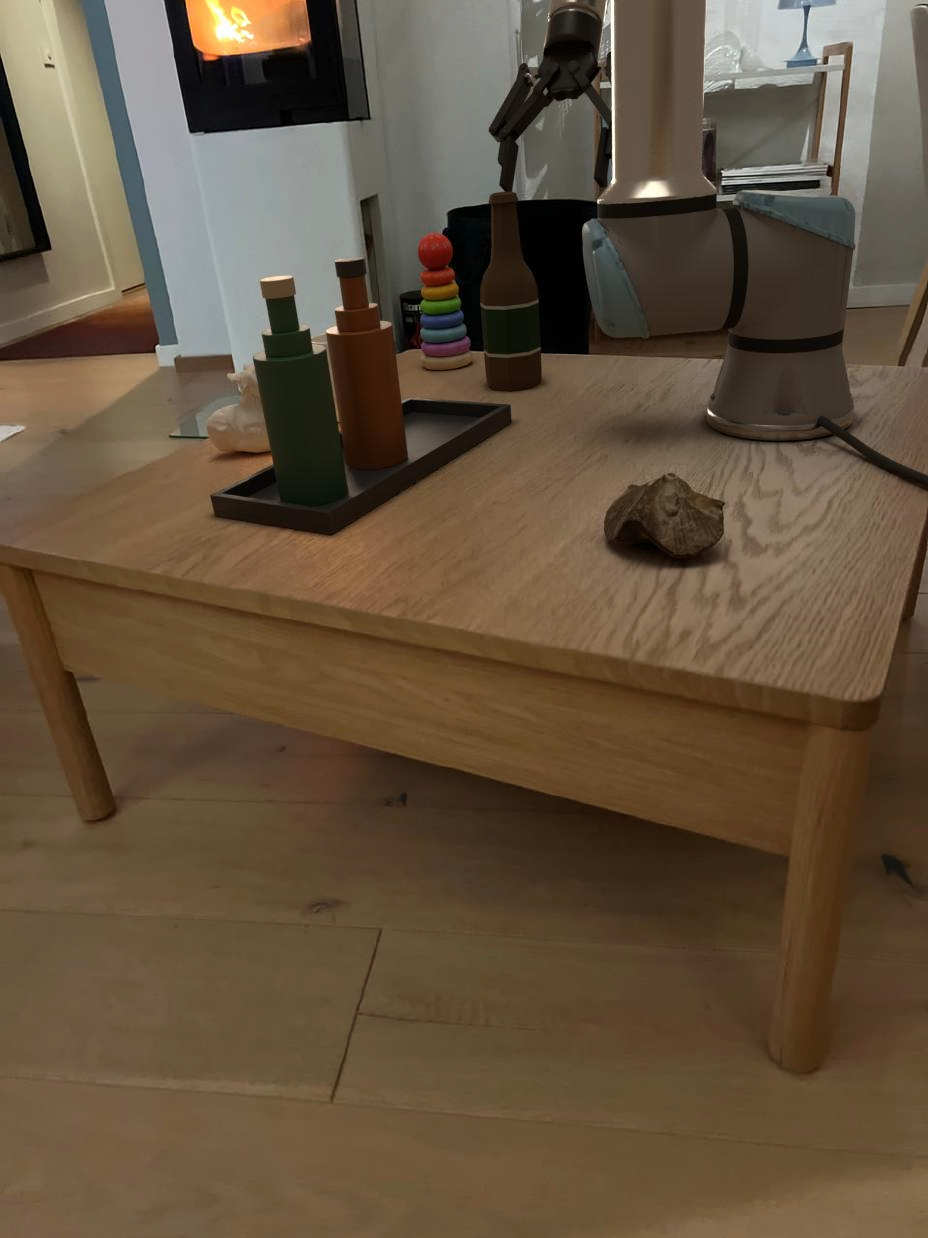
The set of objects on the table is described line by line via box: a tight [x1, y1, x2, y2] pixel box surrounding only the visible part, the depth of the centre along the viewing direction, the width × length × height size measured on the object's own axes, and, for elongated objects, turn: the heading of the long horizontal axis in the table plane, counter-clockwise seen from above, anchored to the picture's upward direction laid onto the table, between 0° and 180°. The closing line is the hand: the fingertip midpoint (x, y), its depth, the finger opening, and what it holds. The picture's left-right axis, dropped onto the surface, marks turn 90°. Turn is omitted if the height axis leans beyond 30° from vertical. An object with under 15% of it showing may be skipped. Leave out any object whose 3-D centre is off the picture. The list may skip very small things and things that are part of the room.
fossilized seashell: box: [603, 472, 726, 559], centre depth 73 cm, size 8×7×10 cm
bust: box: [206, 362, 271, 454], centre depth 105 cm, size 12×8×11 cm
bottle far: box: [252, 275, 348, 506], centre depth 86 cm, size 7×7×20 cm
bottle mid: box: [325, 256, 408, 470], centre depth 94 cm, size 7×7×20 cm
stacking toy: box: [417, 232, 474, 371], centre depth 134 cm, size 8×8×19 cm
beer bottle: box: [479, 190, 543, 392], centre depth 119 cm, size 8×8×24 cm
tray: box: [209, 397, 513, 536], centre depth 98 cm, size 36×15×2 cm, turn 150°
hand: (551, 186), depth 121 cm, fingers open, 13 cm apart
